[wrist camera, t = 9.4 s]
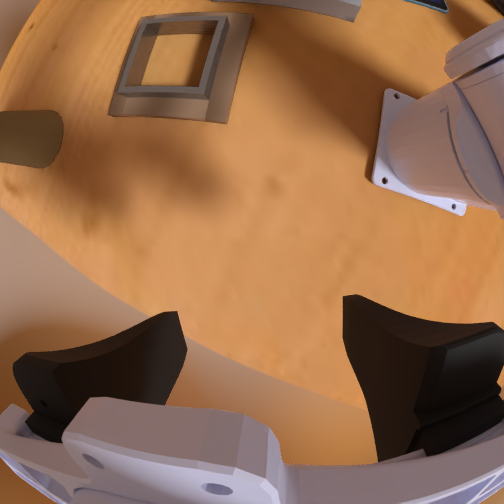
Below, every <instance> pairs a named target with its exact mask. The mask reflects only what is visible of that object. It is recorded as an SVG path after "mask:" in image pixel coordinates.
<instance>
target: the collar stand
mask: <svg viewBox="0 0 504 504" xmlns="http://www.w3.org/2000/svg"><path fill="white" fill-rule="evenodd" d="M253 20H254V17H253V14H247V13H230V12H190V13H173V14H162V15H153V16H146V17H141V19H140V21H139V23H138V26H137V28H136V30H135V33H134V35H133V38H132V40H131V43H130V46H129V48H128V51H127V54H126V57H125V59H124V62H123V65H122V68H121V71H120V74H119V78H118V81H117V84H116V88H115V91H114V95H113V98H112V102H111V106H110V110H109V114H108V115H110V116H113V117H153V118H171V119H184V120H195V121H204V122H213V123H221V124H227V122H228V118H229V113H230V109H231V105H232V100H233V96H234V92H235V88H236V84H237V79H238V75H239V71H240V68H241V64H242V60H243V56H244V52H245V48H246V45H247V41H248V37H249V34H250V30H251V27H252V23H253ZM170 34H214V36H213V39H212V42H211V46H210V49H209V52H208V55H207V59H206V62H205V66H204V69H203V73H202V76H201V80H200V84H199V87H186V86H141V82H142V79H143V76H144V72H145V69H146V66H147V63H148V60H149V57H150V54H151V51H152V48H153V46H154V43H155V40H156V37H157V35H170Z"/></svg>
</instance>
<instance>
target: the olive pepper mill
mask: <svg viewBox="0 0 504 504" xmlns="http://www.w3.org/2000/svg"><path fill="white" fill-rule="evenodd" d="M62 138H63V122H62V119H61V116H60V115H59V114H58V113H57V112H55V111H2V112H0V162H2V163H9V164H15V165H22V166H28V167H34V168H45V167H47V166H49V165H50V164H51V162H52V161H53V160H54V159H55V157H56V155H57V154H58V152H59V149H60V146H61V143H62Z"/></svg>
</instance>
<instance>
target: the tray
mask: <svg viewBox="0 0 504 504" xmlns="http://www.w3.org/2000/svg"><path fill="white" fill-rule="evenodd" d="M212 1H219V2H246V3H259V4H268V5H276V6H284V7H290V8H296V9H302V10H307V11H312V12H316V13H321V14H325V15H329V16H333V17H337V18H340V19H344V20H347V21H351V22H354V20H355V18H356V16H357V14H358V12H359V10H360V8H361V0H212Z"/></svg>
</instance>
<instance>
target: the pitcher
mask: <svg viewBox="0 0 504 504" xmlns="http://www.w3.org/2000/svg"><path fill="white" fill-rule="evenodd" d="M492 1H493V3H494V4H495V6H496V7H497V8H498V9H499V10H500V12H501V13H502V14H503V15H504V0H492Z"/></svg>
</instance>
